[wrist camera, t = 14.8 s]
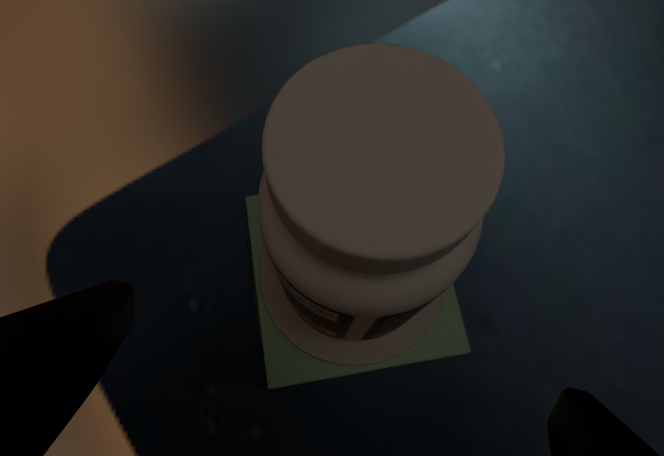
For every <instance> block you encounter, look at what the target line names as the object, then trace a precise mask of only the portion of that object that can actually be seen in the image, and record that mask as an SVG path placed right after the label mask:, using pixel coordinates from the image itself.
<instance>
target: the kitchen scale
mask: <svg viewBox="0 0 664 456" xmlns="http://www.w3.org/2000/svg"><path fill="white" fill-rule="evenodd" d="M246 207H247V216H248V224H249V233H250V239H247V246H248V255H249V264H250V273H251V281H252V290H253V299H254V308H255V316H256V325H257V334H258V342H259V343H260V344H261V345H263V353H264V361H265V370H266V378H267V387H268V389H275V388H281V387H286V386H292V385H297V384H303V383H309V382H314V381H320V380H325V379H331V378H336V377H342V376H347V375H353V374H358V373H364V372H369V371H375V370H381V369H386V368H392V367H397V366H403V365H408V364H414V363H419V362H425V361H430V360H436V359H441V358H447V357H453V356H457V355H462V354H466V353H470V352H471V350H470V346H469V342H468V339H467V335H466V331H465V327H464V323H463V320H462V316H461V312H460V308H459V305H458V301H457V297H456V293H455V289H454V286H453V284H452V285H451V286H450V287H449V288H448V289H447V290H446V291H445V292H443V293H442V294H441V295H440V296H438V297H437V298H436V299H434V300H433V301H432V302H431V303H429V304H428V305H427V306H426V307H424V308H423V309H422V310H421V311H419V312H418V313H417V314H415V315H414V316H413V317H412V318H410V319H409V320H408V321H407V322H406V323H404V324H403V325H402V326H400V327H399V328H397V329H396V330H394V331H392V332H391V333H389V334H387V335H384V336H381V337H378V338H375V339H370V340H363V341H347V340H341V339H337V338H333V337H330V336H327V335H325V334H323V333H321V332H319V331H317V330H315V329H314V328H312V327H311V326H310V325H308V324H307V323H306V322H305V321H304V320H303V319H302V318H301V317H300V316H299V315H298V314H297V313H296V311H295V310H294V309H293V307H292V305H291V304H290V302H289V301H288V299H287V297H286V295H285V292H284V289H283V287H282V285H281V282H280V280H279V278H278V275H277V273H276V270H275V268H274V266H273V263H272V261H271V259H270V257H269V254H268V252H267V249H266V247H265V243H264V240H263V237H262V234H261V229H260V224H259V218H258V195H255V196H248V197H246Z"/></svg>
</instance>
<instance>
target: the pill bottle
mask: <svg viewBox="0 0 664 456" xmlns="http://www.w3.org/2000/svg"><path fill="white" fill-rule="evenodd" d="M504 157H505V152H504V143H503V135H502V132H501V129H500V125H499V122H498V119H497V117H496V115H495V113H494V111H493V109H492V107H491V105H490V104H489V102H488V101H487V99H486V98H485V97H484V95H483V94H482V92H481V91H480V90H479V89H478V87H477V86H476V85H475V84H474V83H473V82H472V81H471V80H470V79H468V78H467V77H466V76H465V75H464V74H463V73H461V72H460V71H459V70H458V69H457V68H455V67H453V66H451V65H450V64H449V63H447V62H446V61H443V60H441V59H439V58H437V57H435V56H433V55H431V54H428V53H426V52H423V51H420V50H417V49H413V48H409V47H405V46H400V45H393V44H363V45H356V46H349V47H346V48H342V49H339V50H336V51H333V52H330V53H328V54H325V55H323V56H321V57H319V58H316V59H315V60H313V61H311V62H310V63H308V64H307V65H305V66H304V67H303V68H301V69H300V70H299V71H298V72H297V73H296V74H295V75H294V76H292V77H291V78H290V79H289V80H288V81H287V83H286V84H285V85H284V86H283V87H282V89H281V90H280V92H279V93H278V95H277V96H276V98H275V99H274V101H273V103H272V106H271V108H270V110H269V112H268V115H267V118H266V122H265V126H264V130H263V138H262V158H263V166H264V172H263V175H262V178H261V182H260V187H259V193H258V218H259V224H260V229H261V234H262V237H263V240H264V243H265V247H266V249H267V252H268V254H269V257H270V259H271V261H272V263H273V266H274V268H275V270H276V273H277V275H278V278H279V280H280V282H281V285H282V287H283V289H284V292H285V295H286V297H287V299H288V301H289V302H290V304H291V305H292V307H293V309H294V310H295V311H296V313H297V314H298V315H299V316H300V317H301V318H302V319H303V320H304V321H305V322H306V323H307V324H308V325H310V326H311V327H312V328H314V329H315V330H317V331H319V332H321V333H323V334H325V335H327V336H330V337H333V338H337V339H341V340H347V341H363V340H370V339H375V338H378V337H381V336H384V335H387V334H389V333H391V332H392V331H394V330H396V329H397V328H399V327H400V326H402V325H403V324H404V323H406V322H407V321H408V320H409V319H410V318H412V317H413V316H414V315H415V314H417V313H418V312H419V311H421V310H422V309H423V308H424V307H426V306H427V305H428V304H429V303H431V302H432V301H433V300H434V299H436V298H437V297H438V296H440V295H441V294H442V293H443V292H445V291H446V290H447V289H448V288H449V287H450V286H451V285H452V284H453V283H454V281H455V280H456V279H457V278H458V277H459V276H460V274H461V273H462V272H463V270H464V269H465V268H466V266H467V265H468V263H469V261H470V260H471V258H472V256H473V254H474V252H475V250H476V247H477V244H478V241H479V238H480V235H481V229H482V223H483V218H484V216H485V215H486V213H487V212H488V210H489V209H490V207H491V206H492V204H493V202H494V200H495V198H496V196H497V194H498V191H499V188H500V185H501V181H502V177H503V171H504V164H505V158H504Z"/></svg>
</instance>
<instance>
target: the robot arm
mask: <svg viewBox="0 0 664 456" xmlns="http://www.w3.org/2000/svg"><path fill="white" fill-rule="evenodd" d="M133 320H134V290H133V287H132V285H130V284H129V283H124V282H120V281H116V280H111V281H108V282H105V283H102V284H99V285H96V286H93V287H90V288H87V289H84V290H81V291H78V292H75V293H72V294H69V295H66V296H63V297H60V298H57V299H54V300H51V301H48V302H45V303H42V304H39V305H36V306H33V307H30V308H27V309H24V310H21V311H18V312H15V313H12V314H9V315H6V316H3V317H0V456H43V455H44V454H45V453H46V451H47V450H48V448H49V447H50V446H51V445H52V443H53V442H54V441H55V439H56V438H57V437H58V435H59V434H60V433H61V432H62V430H63V429H64V428H65V426H66V425H67V424H68V422H69V421H70V420H71V418H72V417H73V416H74V414H75V413H76V412H77V410H78V409H79V408H80V406H81V405H82V404H83V402H84V401H85V400H86V398H87V397H88V396H89V394H90V393H91V391H92V390H93V389H94V387H95V386H96V384H97V382H98V381H99V379H100V378H101V376H102V374H103V373H104V371H105V369H106V368H107V366H108V364H109V363H110V361H111V359H112V358H113V356H114V354H115V353H116V351H117V349H118V348H119V346H120V344H121V343H122V341H123V339H124V338H125V336H126V334H127V333H128V331H129V329H130V328H131V326H132V323H133ZM548 434H549V441H550V447H551V454H552V456H660V455H659V454H657V453H656V452H655V451H654V450H653V449H652V448H651V447H650V446H649V445H647V444H646V443H645V442H644V441H643V440H642V439H641V438H640V437H638V436H637V435H636V434H635V433H634V432H633V431H632V430H631V429H630V428H628V427H627V426H626V425H625V424H624V423H623V422H622V421H621V420H619V419H618V418H617V417H616V416H615V415H614V414H613V413H612V412H610V411H609V410H608V409H607V408H606V407H605V406H604V405H603V404H602V403H600V402H599V401H598V400H597V399H596V398H595V397H594V396H593V395H591V394H590V393H588V392H586V391H582V390H578V389H574V388H566V389H565V390H563V392H562V393H561V395H560V397H559V399H558V401H557V402H556V404H555V406H554V408H553V410H552V412H551V413H550V416H549V419H548Z"/></svg>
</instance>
